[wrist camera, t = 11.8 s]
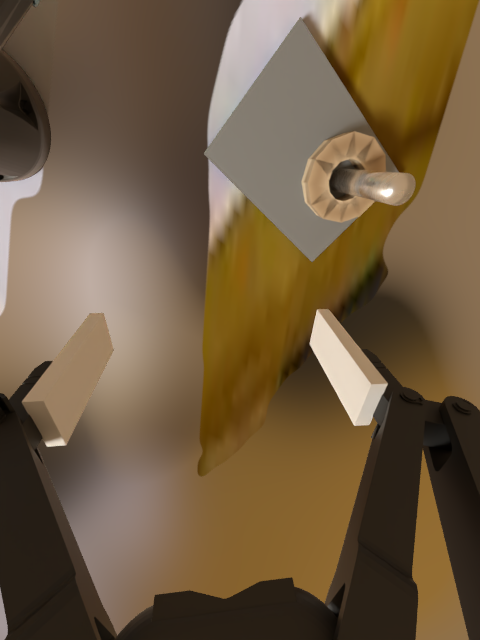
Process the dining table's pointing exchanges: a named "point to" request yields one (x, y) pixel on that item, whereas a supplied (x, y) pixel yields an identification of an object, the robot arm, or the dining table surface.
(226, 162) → the board
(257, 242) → the dining table surface
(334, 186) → the peg
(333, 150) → the tan faceted ring
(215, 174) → the dining table surface
